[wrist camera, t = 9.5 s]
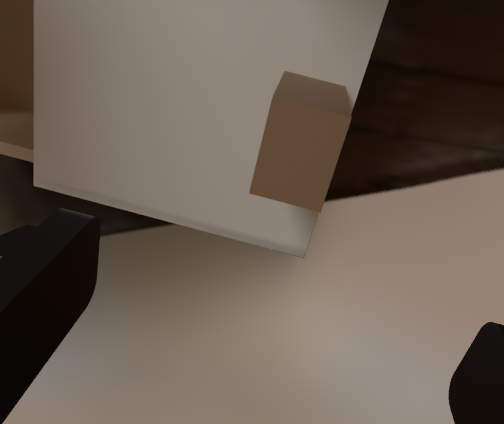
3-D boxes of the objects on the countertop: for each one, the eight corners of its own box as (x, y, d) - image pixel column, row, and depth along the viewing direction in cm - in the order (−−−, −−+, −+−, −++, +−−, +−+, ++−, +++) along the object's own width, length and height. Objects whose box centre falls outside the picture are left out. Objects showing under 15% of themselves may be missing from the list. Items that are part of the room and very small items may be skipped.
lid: (57, -130, 22) (-73, -187, 15) (397, -45, 21) (434, -61, 14) (51, 173, 29) (-38, 234, 22) (305, 241, 28) (298, 326, 21)
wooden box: (-31, -124, 28) (-134, -156, 21) (226, -60, 27) (197, -74, 21) (-19, 102, 34) (-96, 128, 28) (189, 157, 34) (158, 195, 27)
